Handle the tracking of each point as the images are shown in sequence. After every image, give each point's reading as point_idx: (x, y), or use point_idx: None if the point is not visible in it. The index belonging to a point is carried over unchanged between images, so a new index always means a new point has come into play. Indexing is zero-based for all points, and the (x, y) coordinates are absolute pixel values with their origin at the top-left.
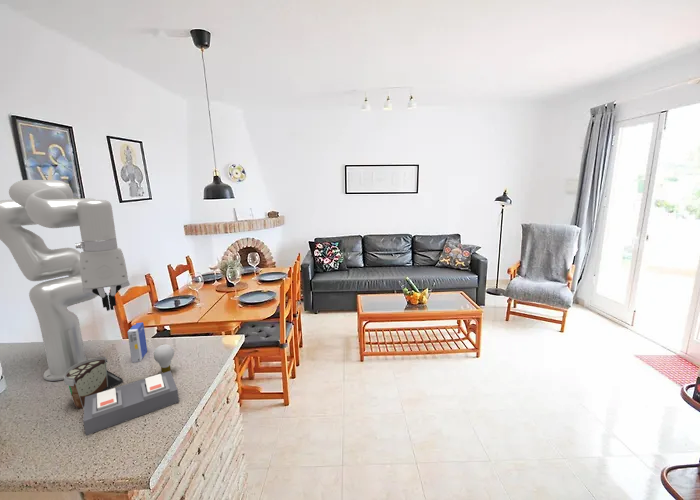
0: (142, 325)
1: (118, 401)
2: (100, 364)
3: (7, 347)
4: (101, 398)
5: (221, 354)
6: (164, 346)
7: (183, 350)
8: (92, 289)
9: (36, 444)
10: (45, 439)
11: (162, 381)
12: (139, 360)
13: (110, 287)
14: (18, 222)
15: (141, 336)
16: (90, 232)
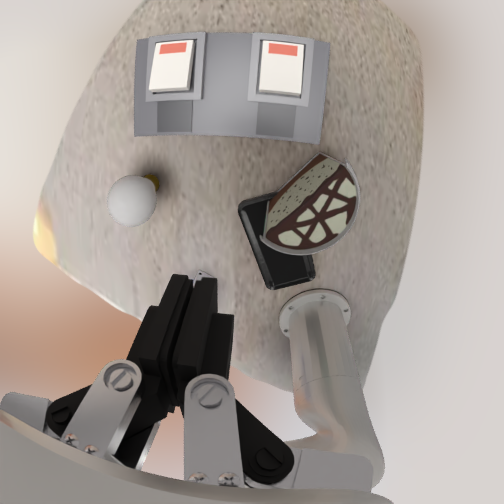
0: None
1: (258, 49)
2: (277, 224)
3: None
4: (293, 69)
5: (56, 191)
6: (117, 203)
7: (118, 259)
8: (287, 478)
9: (390, 92)
10: (379, 94)
11: (154, 61)
12: (199, 272)
13: (141, 453)
14: None
15: None
16: None
